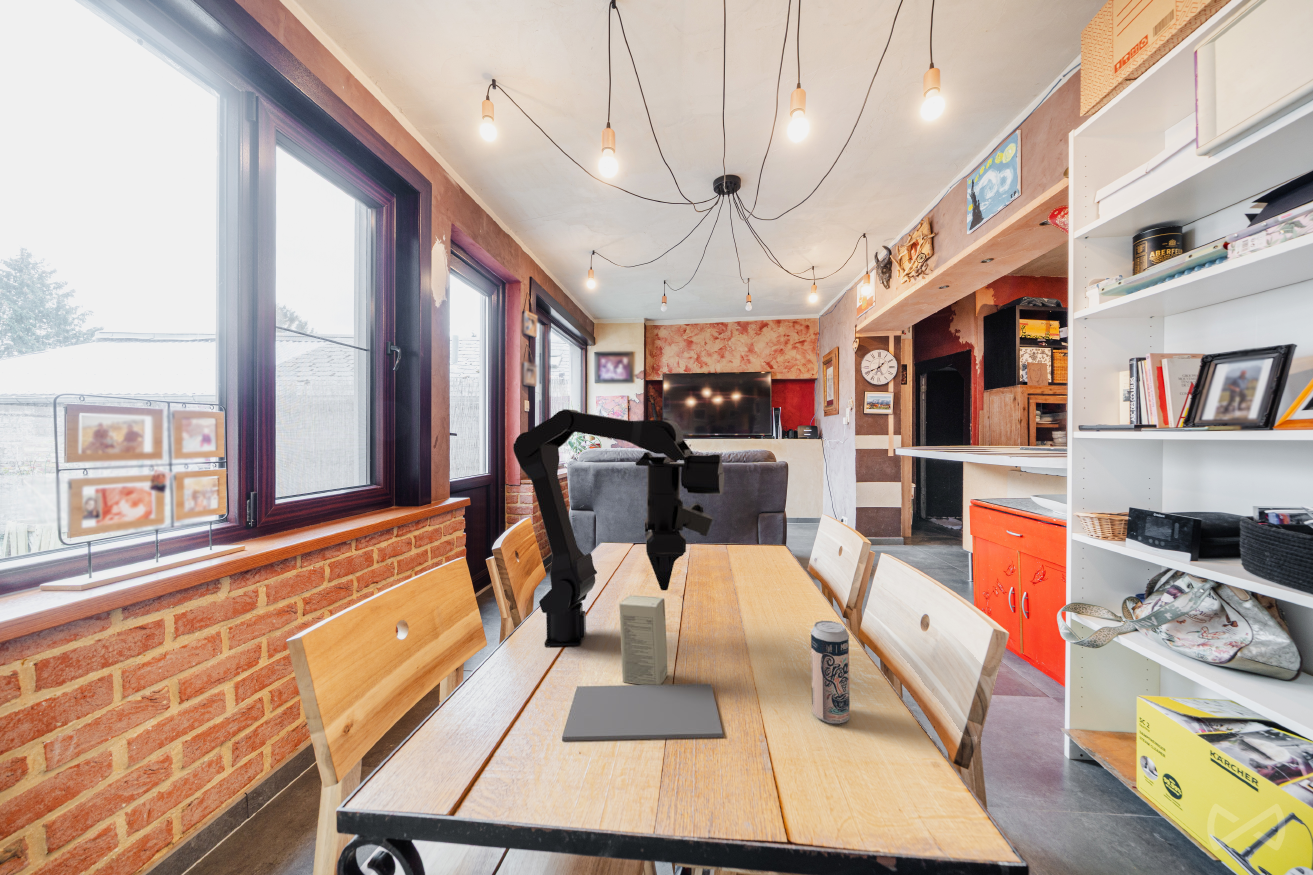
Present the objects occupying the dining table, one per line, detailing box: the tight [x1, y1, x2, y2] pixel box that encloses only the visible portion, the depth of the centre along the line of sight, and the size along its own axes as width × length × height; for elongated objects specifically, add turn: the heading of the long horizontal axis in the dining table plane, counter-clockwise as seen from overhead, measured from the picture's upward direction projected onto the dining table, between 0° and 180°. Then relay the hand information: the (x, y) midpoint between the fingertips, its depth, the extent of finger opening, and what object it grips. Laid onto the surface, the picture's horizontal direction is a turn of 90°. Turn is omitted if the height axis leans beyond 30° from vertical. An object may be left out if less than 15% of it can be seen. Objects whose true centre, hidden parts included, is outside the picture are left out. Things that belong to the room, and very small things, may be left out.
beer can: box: [810, 620, 851, 725], centre depth 64 cm, size 5×5×12 cm
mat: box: [561, 683, 724, 742], centre depth 66 cm, size 20×12×1 cm, turn 91°
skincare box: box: [618, 594, 669, 685], centre depth 75 cm, size 6×4×12 cm
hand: (662, 581), depth 84 cm, fingers open, 9 cm apart
